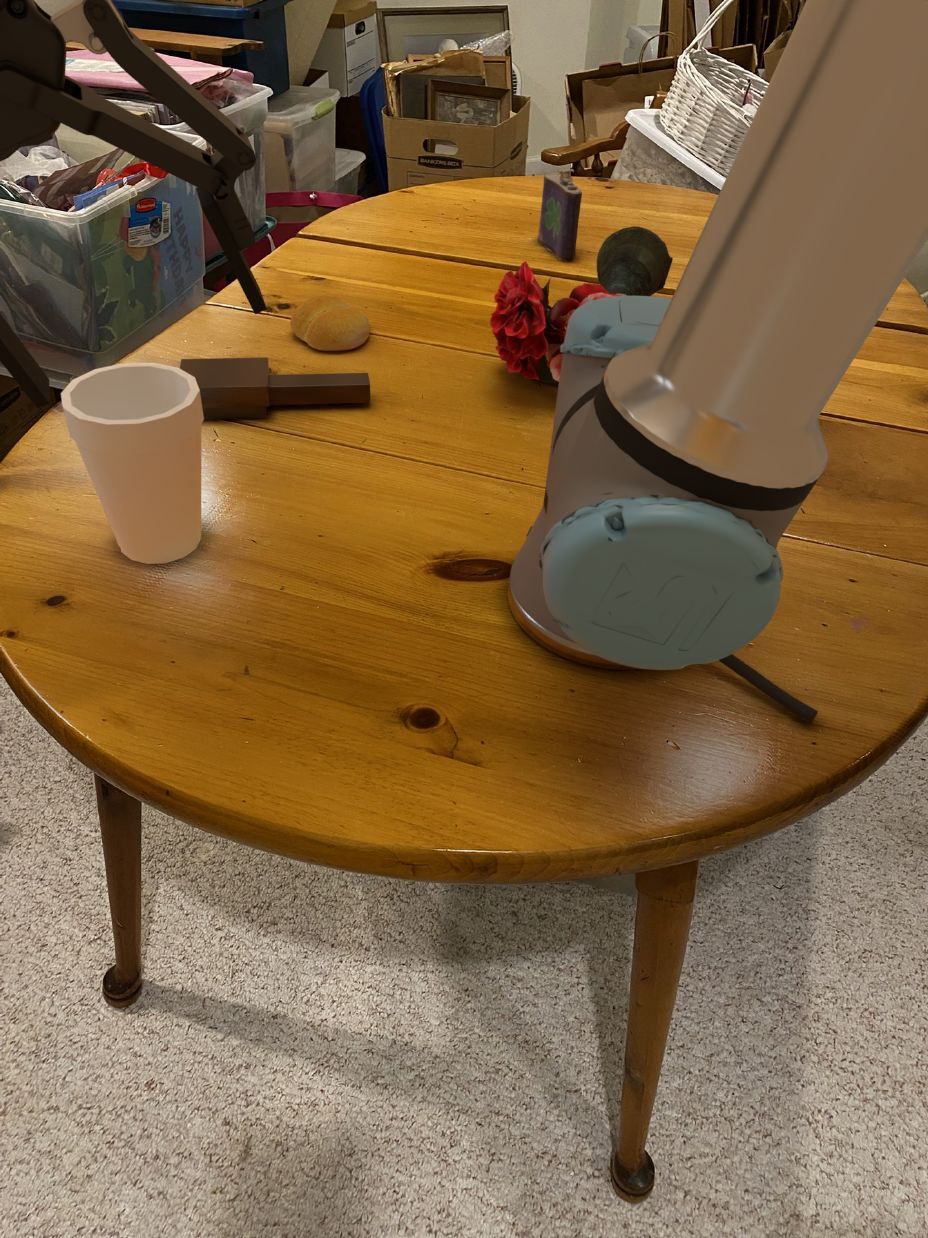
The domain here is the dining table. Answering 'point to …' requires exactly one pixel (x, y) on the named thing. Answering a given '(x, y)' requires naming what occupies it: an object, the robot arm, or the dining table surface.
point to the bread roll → (330, 324)
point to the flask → (560, 215)
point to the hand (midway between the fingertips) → (151, 348)
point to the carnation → (571, 301)
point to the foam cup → (142, 454)
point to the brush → (266, 387)
